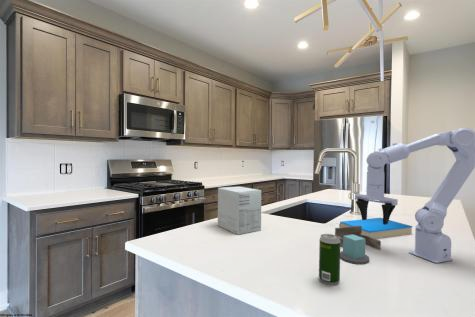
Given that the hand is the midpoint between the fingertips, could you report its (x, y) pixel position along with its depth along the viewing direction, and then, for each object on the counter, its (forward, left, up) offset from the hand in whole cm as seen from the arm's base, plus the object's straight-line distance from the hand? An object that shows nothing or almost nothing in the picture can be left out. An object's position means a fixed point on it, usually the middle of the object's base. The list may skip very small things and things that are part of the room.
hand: (374, 221), depth 97 cm
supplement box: (+40, +38, -10) cm, 56 cm away
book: (+17, -18, -11) cm, 27 cm away
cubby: (+3, +4, -10) cm, 11 cm away
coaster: (-5, +14, -10) cm, 18 cm away
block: (-5, +14, -9) cm, 17 cm away
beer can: (-15, +32, -10) cm, 37 cm away
